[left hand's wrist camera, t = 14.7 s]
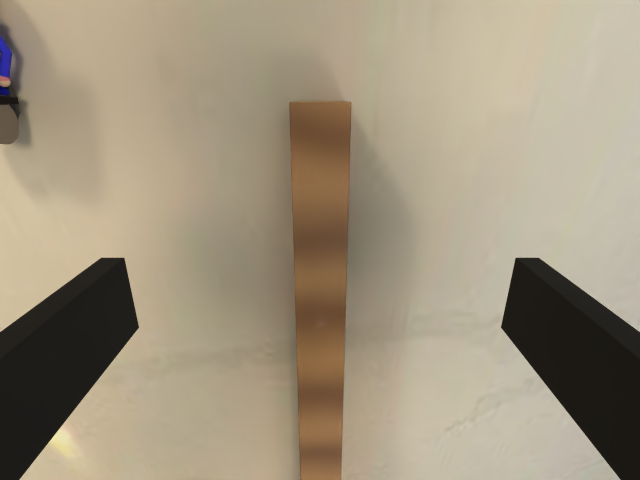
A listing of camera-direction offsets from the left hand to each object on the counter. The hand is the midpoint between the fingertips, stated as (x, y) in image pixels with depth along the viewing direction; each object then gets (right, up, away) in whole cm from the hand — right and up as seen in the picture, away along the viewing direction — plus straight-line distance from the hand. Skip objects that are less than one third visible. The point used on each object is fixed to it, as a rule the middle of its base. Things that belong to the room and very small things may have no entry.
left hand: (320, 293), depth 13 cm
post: (0, -11, +33) cm, 35 cm away
